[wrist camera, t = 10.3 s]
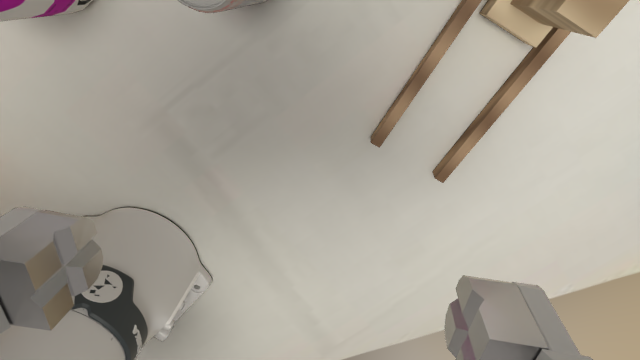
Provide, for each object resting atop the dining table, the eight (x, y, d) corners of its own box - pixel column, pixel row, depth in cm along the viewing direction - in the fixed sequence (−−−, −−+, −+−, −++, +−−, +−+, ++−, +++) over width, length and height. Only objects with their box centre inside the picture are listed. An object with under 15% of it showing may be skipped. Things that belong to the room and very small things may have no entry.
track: (440, 176, 38) (443, 182, 37) (370, 137, 37) (370, 142, 36) (666, -96, 26) (681, -100, 25) (573, -167, 25) (584, -175, 24)
